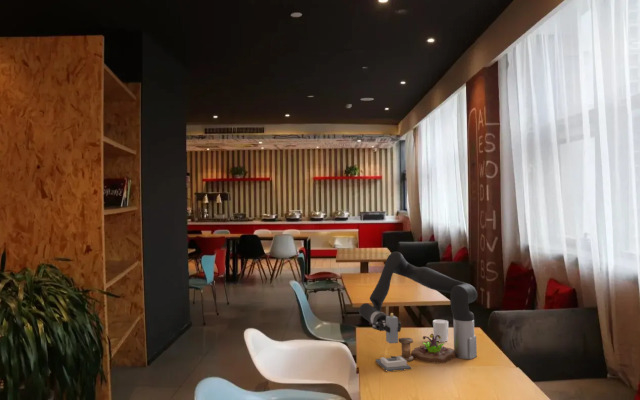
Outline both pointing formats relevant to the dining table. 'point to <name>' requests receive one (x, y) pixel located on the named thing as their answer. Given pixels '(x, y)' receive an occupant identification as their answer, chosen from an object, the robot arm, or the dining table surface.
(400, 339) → the bobbin
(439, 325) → the white cup
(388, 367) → the grey u-shaped stand base
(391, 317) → the gray block with knob
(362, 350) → the dining table surface
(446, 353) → the plant
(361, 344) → the dining table surface
